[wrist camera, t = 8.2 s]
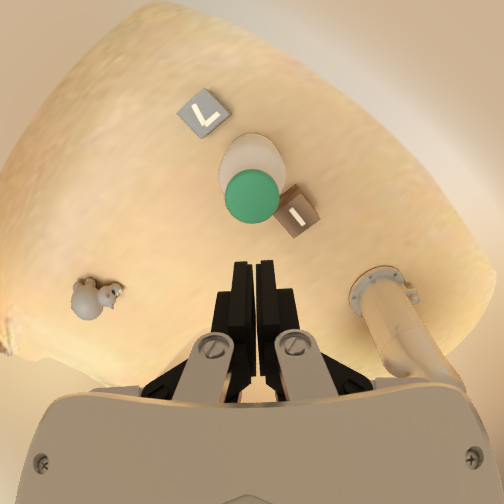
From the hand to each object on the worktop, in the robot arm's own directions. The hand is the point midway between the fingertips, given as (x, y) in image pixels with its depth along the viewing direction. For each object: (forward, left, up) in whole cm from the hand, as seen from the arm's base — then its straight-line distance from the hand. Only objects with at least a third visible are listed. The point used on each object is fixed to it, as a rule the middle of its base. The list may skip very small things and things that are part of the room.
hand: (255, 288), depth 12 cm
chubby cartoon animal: (+33, +23, -32) cm, 52 cm away
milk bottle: (0, 0, -32) cm, 32 cm away
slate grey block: (+6, -8, -32) cm, 33 cm away
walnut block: (-6, +8, -32) cm, 33 cm away
